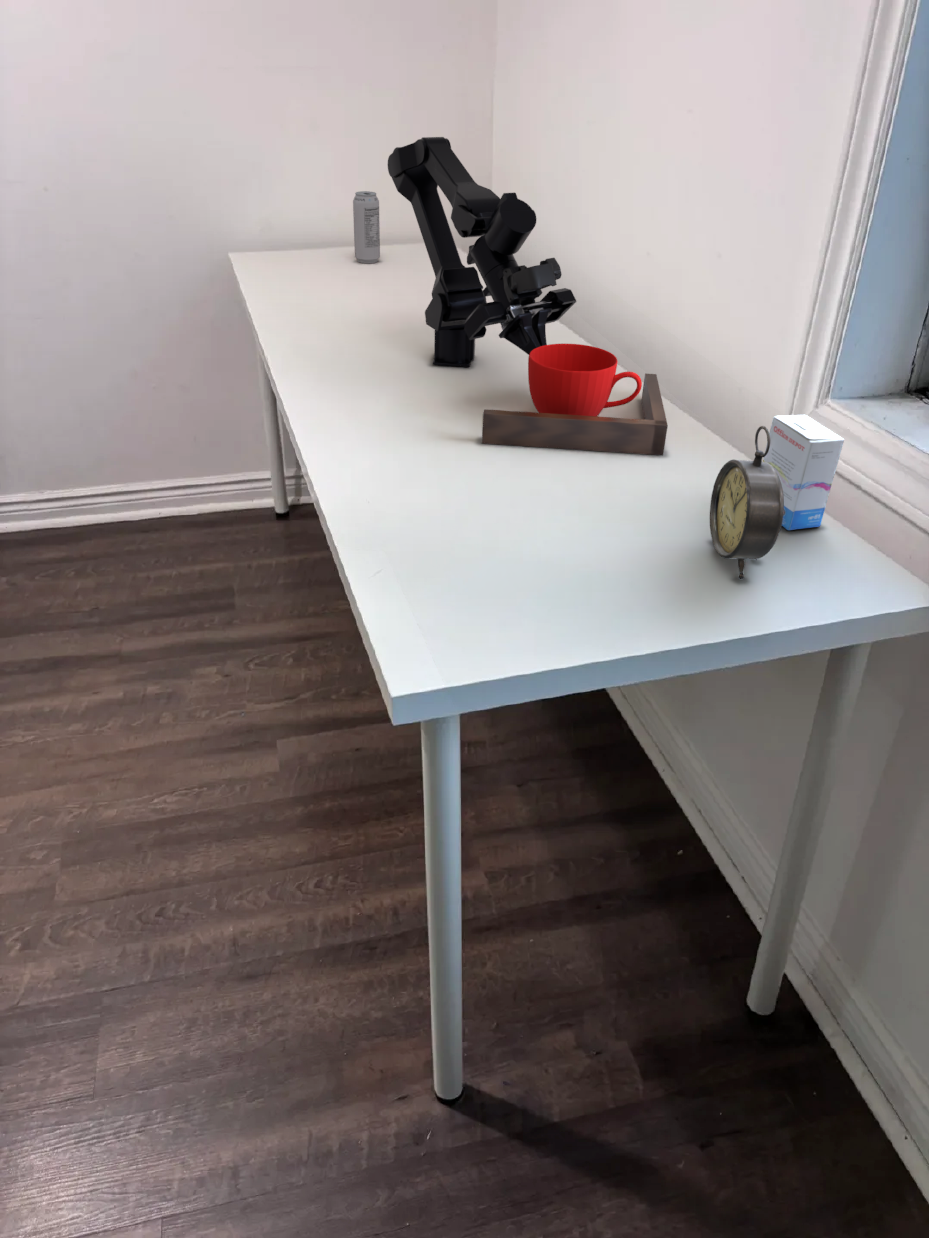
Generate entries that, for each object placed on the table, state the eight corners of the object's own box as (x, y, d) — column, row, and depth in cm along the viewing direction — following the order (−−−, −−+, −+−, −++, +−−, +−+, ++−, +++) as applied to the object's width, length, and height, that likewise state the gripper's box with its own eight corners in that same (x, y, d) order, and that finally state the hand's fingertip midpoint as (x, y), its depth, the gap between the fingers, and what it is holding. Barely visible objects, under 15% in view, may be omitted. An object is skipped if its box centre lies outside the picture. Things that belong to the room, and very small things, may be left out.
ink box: (823, 527, 117) (847, 437, 110) (787, 532, 116) (810, 441, 109) (784, 497, 124) (805, 411, 117) (751, 501, 122) (770, 414, 116)
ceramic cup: (627, 448, 136) (637, 380, 130) (514, 430, 140) (518, 364, 134) (641, 417, 146) (651, 353, 141) (535, 401, 150) (540, 339, 145)
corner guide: (481, 443, 136) (483, 413, 133) (492, 391, 154) (493, 364, 151) (663, 455, 134) (667, 425, 132) (652, 401, 152) (656, 374, 150)
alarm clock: (700, 538, 114) (725, 408, 105) (744, 537, 114) (772, 408, 105) (729, 585, 105) (759, 448, 96) (776, 584, 105) (810, 447, 96)
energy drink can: (369, 257, 230) (368, 190, 221) (385, 261, 226) (384, 194, 218) (349, 260, 226) (347, 192, 218) (365, 265, 223) (363, 196, 214)
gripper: (479, 247, 133) (527, 344, 132) (573, 233, 144) (618, 323, 142) (443, 292, 143) (488, 384, 142) (534, 276, 153) (576, 361, 152)
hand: (544, 362), depth 144 cm, fingers closed
